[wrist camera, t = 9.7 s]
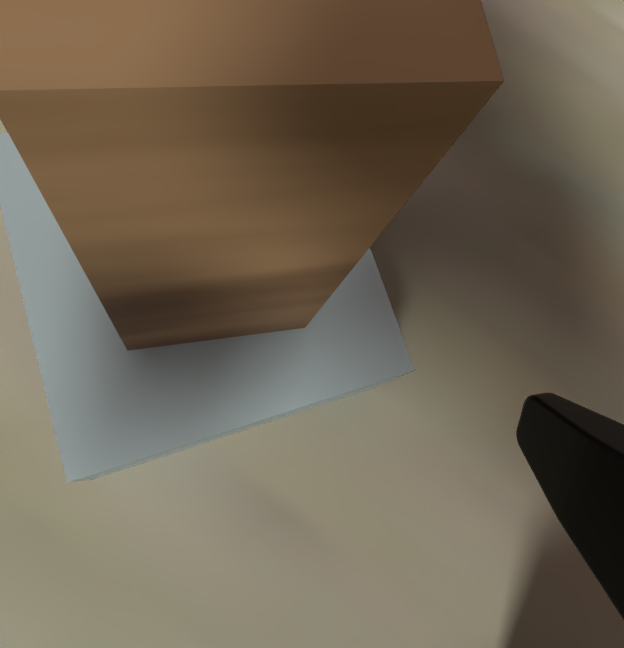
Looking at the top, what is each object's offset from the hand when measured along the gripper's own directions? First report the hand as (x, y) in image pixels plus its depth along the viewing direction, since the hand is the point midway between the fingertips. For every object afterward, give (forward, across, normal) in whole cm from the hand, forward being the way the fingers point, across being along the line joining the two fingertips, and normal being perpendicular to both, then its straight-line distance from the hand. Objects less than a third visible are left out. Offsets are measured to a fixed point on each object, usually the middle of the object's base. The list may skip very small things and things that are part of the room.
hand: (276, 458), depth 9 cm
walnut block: (+10, 0, +1) cm, 10 cm away
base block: (+14, 0, +4) cm, 14 cm away
